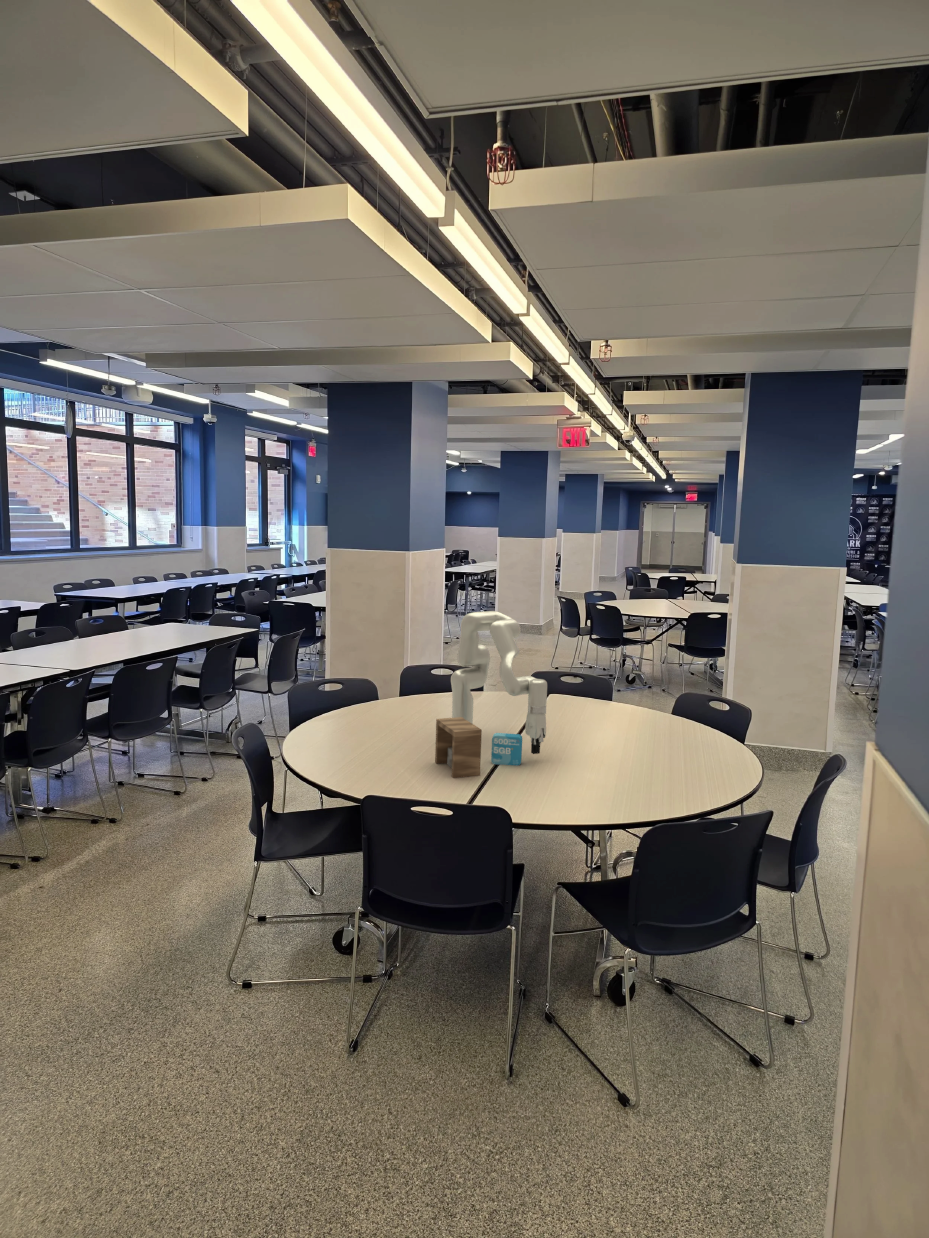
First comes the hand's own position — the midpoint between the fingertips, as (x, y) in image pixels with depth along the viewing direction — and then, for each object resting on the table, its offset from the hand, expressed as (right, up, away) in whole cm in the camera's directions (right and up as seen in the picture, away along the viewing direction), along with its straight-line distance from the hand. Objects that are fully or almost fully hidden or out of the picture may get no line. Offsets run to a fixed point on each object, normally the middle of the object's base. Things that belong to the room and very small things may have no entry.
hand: (535, 753), depth 302 cm
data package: (-12, -4, -4) cm, 13 cm away
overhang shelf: (-32, -4, -13) cm, 34 cm away
